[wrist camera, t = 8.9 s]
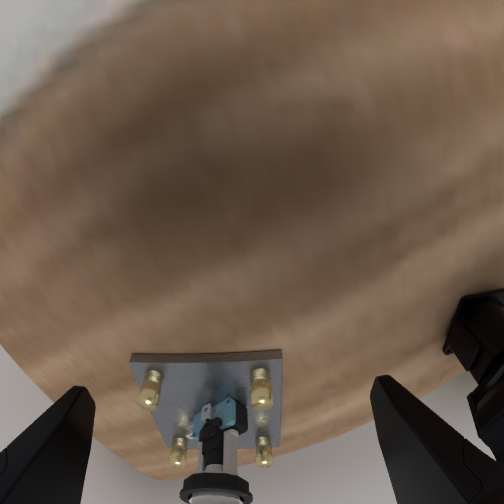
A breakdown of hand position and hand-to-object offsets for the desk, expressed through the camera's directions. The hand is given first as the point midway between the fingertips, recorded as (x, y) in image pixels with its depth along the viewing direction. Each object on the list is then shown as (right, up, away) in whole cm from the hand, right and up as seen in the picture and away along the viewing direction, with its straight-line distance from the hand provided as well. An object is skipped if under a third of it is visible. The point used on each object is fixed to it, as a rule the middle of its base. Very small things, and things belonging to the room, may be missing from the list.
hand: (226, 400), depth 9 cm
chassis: (-3, -10, +19) cm, 21 cm away
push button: (-3, -10, +18) cm, 21 cm away
